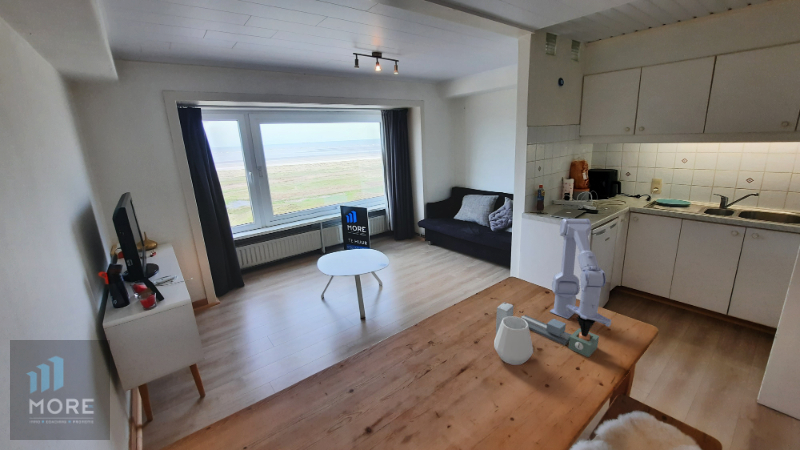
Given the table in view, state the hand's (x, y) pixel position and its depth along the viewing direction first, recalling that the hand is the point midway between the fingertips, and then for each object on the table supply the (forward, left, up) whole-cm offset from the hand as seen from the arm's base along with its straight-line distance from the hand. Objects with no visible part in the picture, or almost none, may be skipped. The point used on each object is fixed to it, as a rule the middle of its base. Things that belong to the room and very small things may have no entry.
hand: (584, 334), depth 119 cm
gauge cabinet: (0, 0, -6) cm, 6 cm away
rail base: (0, -15, -6) cm, 16 cm away
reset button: (0, 0, -4) cm, 4 cm away
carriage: (0, -10, -4) cm, 11 cm away
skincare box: (+13, -25, -6) cm, 29 cm away
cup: (+23, -15, -6) cm, 28 cm away
